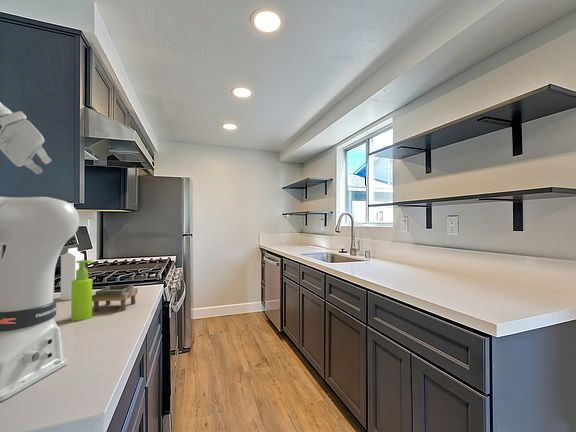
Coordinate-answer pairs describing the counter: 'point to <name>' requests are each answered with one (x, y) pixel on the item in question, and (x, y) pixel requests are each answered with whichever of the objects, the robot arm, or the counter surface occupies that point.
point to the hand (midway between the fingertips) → (44, 167)
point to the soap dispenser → (81, 293)
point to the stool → (114, 295)
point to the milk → (69, 271)
